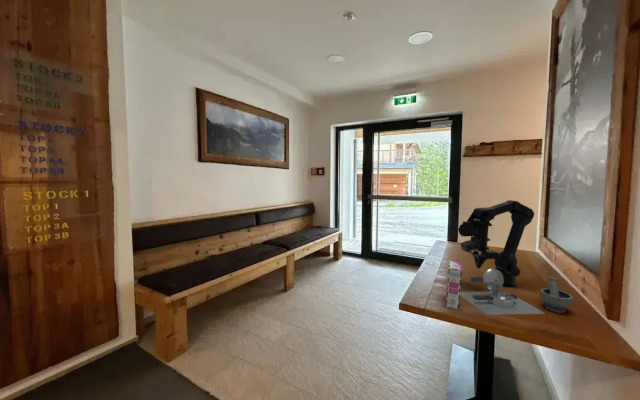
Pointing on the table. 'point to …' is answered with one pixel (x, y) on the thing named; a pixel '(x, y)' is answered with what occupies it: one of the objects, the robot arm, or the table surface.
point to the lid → (490, 279)
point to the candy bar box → (453, 285)
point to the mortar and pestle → (555, 297)
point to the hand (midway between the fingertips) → (478, 268)
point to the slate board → (490, 309)
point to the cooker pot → (498, 298)
